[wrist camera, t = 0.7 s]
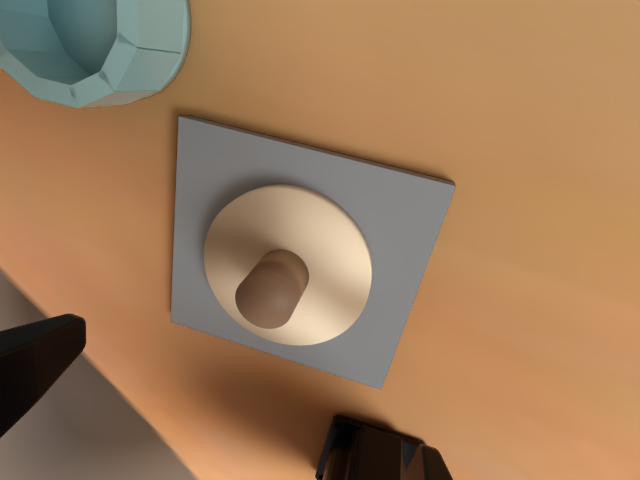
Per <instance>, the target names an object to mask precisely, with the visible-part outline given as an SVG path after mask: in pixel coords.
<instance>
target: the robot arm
mask: <svg viewBox="0 0 640 480" xmlns="http://www.w3.org/2000/svg"><path fill="white" fill-rule="evenodd" d="M85 344H86V322H85V320H84V318H82V317H79V316H76V315H74V314H64V315H60V316H56V317H53V318H49V319H45V320H42V321H37V322H34V323H30V324H26V325H22V326H18V327H15V328H11V329H7V330H3V331H0V438H1V437H2V436H3V435H4V434H5V433H6V432H7V431H8V430H9V429H10V428H11V427H12V426H13V425H14V424H15V423H16V422H17V421H19V420H20V419H21V417H23V416H24V415H25V414H26V413H27V412H28V411H29V410H30V409H31V408H32V407H33V406H34V405H35V404H36V403H37V402H38V401H39V400H40V399H41V398H42V397H43V395H44V394H45V393H46V392H47V391H48V390H49V389H50V387H51V386H52V385H53V384H54V383H55V382H56V381H57V380H58V378H59V377H60V376H61V375H62V374H63V372H65V370H66V369H67V368H68V367H69V366H70V365H71V364H72V362H73V361H74V360H75V359H76V358H77V356H78V355H79V354H80V353H81V352H82V351H83V349H84V347H85ZM339 423H340V424H339ZM315 477H316V479H317V480H453V478H452V476H451V474H450V472H449V470H448V468H447V466H446V464H445V462H444V460H443V458H442V456H441V454H440V452H439V451H438V450H437V449H436V448H433V447H430V446H428V445H426V444H424V443H421V442H418V441H415V440H412V439H409V438H406V437H403V436H400V435H397V434H394V433H391V432H388V431H386V430H383V429H380V428H377V427H374V426H371V425H368V424H365V423H362V422H359V421H356V420H353V419H350V418H347V417H344V416H341V415H336V416H334V417H333V419H332V422H331V425H330V428H329V432H328V435H327V438H326V441H325V445H324V448H323V451H322V455H321V458H320V461H319V464H318V468H317V471H316V475H315Z"/></svg>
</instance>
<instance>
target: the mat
mask: <svg viewBox="0 0 640 480" xmlns="http://www.w3.org/2000/svg"><path fill="white" fill-rule="evenodd" d="M275 184H288V185H296V186H301V187H305V188H308V189H311V190H314V191H317V192H319V193H321V194H323V195H325V196H327V197H328V198H330V199H331V200H333V201H335V202H336V203H337V204H339V205H340V206H341V207H342V208H343V209H345V210H346V211H347V213H348V214H349V215H350V216H351V217H352V218H353V219H354V220H355V222H356V223H357V225H358V226H359V227H360V229H361V231H362V233H363V235H364V236H365V238H366V241H367V244H368V246H369V249H370V254H371V258H372V268H373V270H372V281H371V286H370V291H369V296H368V299H367V302H366V305H365V307H364V309H363V311H362V313H361V314H360V316H359V317H358V319H357V320H356V321H355V322H354V323H353V324H352V325H351V326H350V327H349V328H348V329H347V330H346V331H344V332H343V333H341V334H340V335H338V336H336V337H334V338H332V339H330V340H328V341H325V342H322V343H318V344H313V345H302V346H299V345H286V344H280V343H276V342H273V341H270V340H267V339H264V338H262V337H260V336H258V335H256V334H254V333H252V332H250V331H249V330H247V329H245V328H244V327H243V326H241V325H240V324H239V323H237V322H236V321H235V320H234V319H233V318H232V317H231V316H230V315H229V314H228V313H227V312H226V311H225V310H224V308H223V307H222V306H221V305H220V303H219V302H218V300H217V299H216V297H215V295H214V293H213V291H212V289H211V287H210V285H209V282H208V279H207V276H206V272H205V266H204V246H205V240H206V237H207V233H208V231H209V228H210V226H211V224H212V222H213V221H214V219H215V218H216V216H217V215H218V214H219V213H220V212H221V211H222V209H223V208H224V207H226V206H227V205H228V204H229V203H231V202H232V201H233V200H235V199H236V198H238V197H239V196H241V195H243V194H245V193H246V192H248V191H250V190H253V189H256V188H258V187H262V186H267V185H275ZM455 188H456V185H455V183H454V182H452V181H448V180H444V179H440V178H436V177H432V176H428V175H424V174H420V173H416V172H412V171H408V170H404V169H400V168H396V167H392V166H388V165H384V164H380V163H376V162H372V161H368V160H364V159H360V158H356V157H352V156H348V155H344V154H340V153H336V152H332V151H328V150H324V149H320V148H316V147H312V146H308V145H304V144H300V143H296V142H292V141H288V140H284V139H280V138H276V137H272V136H268V135H264V134H260V133H256V132H252V131H248V130H244V129H240V128H236V127H232V126H228V125H224V124H220V123H216V122H212V121H208V120H204V119H200V118H196V117H192V116H188V115H185V116H179V119H178V145H177V170H176V196H175V221H174V246H173V272H172V297H171V322H173V323H176V324H179V325H182V326H185V327H188V328H191V329H194V330H198V331H201V332H204V333H207V334H210V335H213V336H216V337H219V338H222V339H225V340H228V341H232V342H235V343H238V344H241V345H244V346H247V347H250V348H253V349H256V350H259V351H262V352H266V353H269V354H272V355H275V356H278V357H281V358H284V359H287V360H290V361H293V362H296V363H300V364H303V365H306V366H309V367H312V368H315V369H318V370H321V371H324V372H327V373H330V374H334V375H337V376H340V377H343V378H346V379H349V380H352V381H355V382H358V383H361V384H364V385H368V386H371V387H374V388H377V389H380V390H381V389H382V387H383V384H384V381H385V378H386V376H387V373H388V370H389V368H390V365H391V362H392V359H393V357H394V354H395V351H396V348H397V346H398V343H399V340H400V338H401V335H402V332H403V329H404V327H405V324H406V321H407V319H408V316H409V313H410V310H411V308H412V305H413V302H414V299H415V297H416V294H417V291H418V289H419V286H420V283H421V280H422V278H423V275H424V272H425V269H426V267H427V264H428V261H429V259H430V256H431V253H432V250H433V248H434V245H435V242H436V240H437V237H438V234H439V231H440V229H441V226H442V223H443V220H444V218H445V215H446V212H447V210H448V207H449V204H450V201H451V199H452V196H453V193H454V191H455Z"/></svg>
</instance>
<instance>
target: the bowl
mask: <svg viewBox="0 0 640 480" xmlns="http://www.w3.org/2000/svg"><path fill="white" fill-rule="evenodd" d="M190 37H191V11H190V3H189V0H0V67H1V68H2V69H3V70H4V71H5V72H6V73H7V74H9V75H10V76H11V77H12V78H13V79H14V80H15V81H16V82H18V83H19V84H20V85H21V86H22V87H23V88H24V89H26V90H27V91H28V92H29V93H30V94H31V95H32V96H33V97H35V98H39V99H43V100H47V101H51V102H55V103H59V104H62V105H66V106H70V107H74V108H85V107H98V106H111V105H123V104H129V103H131V102H134V101H136V100H139V99H145V98H148V97H151V96H153V95H155V94H157V93H159V92H161V91H162V90H164V89H165V88H166V87H167V86H168V85H169V84H170V83H171V82H172V81H173V80H174V79H175V77H176V76H177V75H178V73H179V72H180V70H181V68H182V66H183V64H184V61H185V58H186V56H187V53H188V48H189V44H190Z"/></svg>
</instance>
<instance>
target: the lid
mask: <svg viewBox="0 0 640 480" xmlns="http://www.w3.org/2000/svg"><path fill="white" fill-rule="evenodd" d="M204 266H205V272H206V276H207V279H208V282H209V285H210V287H211V289H212V291H213V293H214V295H215V297H216V299H217V300H218V302H219V303H220V305H221V306H222V307H223V308H224V310H225V311H226V312H227V313H228V314H229V315H230V316H231V317H232V318H233V319H234V320H235V321H236V322H237V323H239V324H240V325H241V326H243V327H244V328H245V329H247V330H249V331H250V332H252V333H254V334H256V335H258V336H260V337H262V338H264V339H267V340H270V341H273V342H276V343H280V344H286V345H299V346H302V345H313V344H318V343H322V342H325V341H328V340H330V339H332V338H334V337H336V336H338V335H340V334H341V333H343V332H344V331H346V330H347V329H348V328H349V327H350V326H351V325H352V324H353V323H354V322H355V321H356V320H357V319H358V317H359V316H360V314H361V313H362V311H363V309H364V307H365V305H366V302H367V299H368V296H369V291H370V286H371V281H372V270H373V268H372V258H371V254H370V249H369V246H368V244H367V241H366V238H365V236H364V235H363V233H362V231H361V229H360V227H359V226H358V225H357V223H356V222H355V220H354V219H353V218H352V217H351V216H350V215H349V214H348V213H347V211H346V210H345V209H343V208H342V207H341V206H340V205H339V204H337V203H336V202H335V201H333V200H331V199H330V198H328V197H327V196H325V195H323V194H321V193H319V192H317V191H314V190H311V189H308V188H305V187H301V186H296V185H288V184H275V185H267V186H262V187H258V188H256V189H253V190H250V191H248V192H246V193H245V194H243V195H241V196H239V197H238V198H236V199H235V200H233V201H232V202H231V203H229V204H228V205H227V206H226V207H224V208H223V209H222V211H221V212H220V213H219V214H218V215H217V216H216V218H215V219H214V221H213V222H212V224H211V226H210V228H209V231H208V233H207V237H206V240H205V246H204Z"/></svg>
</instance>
